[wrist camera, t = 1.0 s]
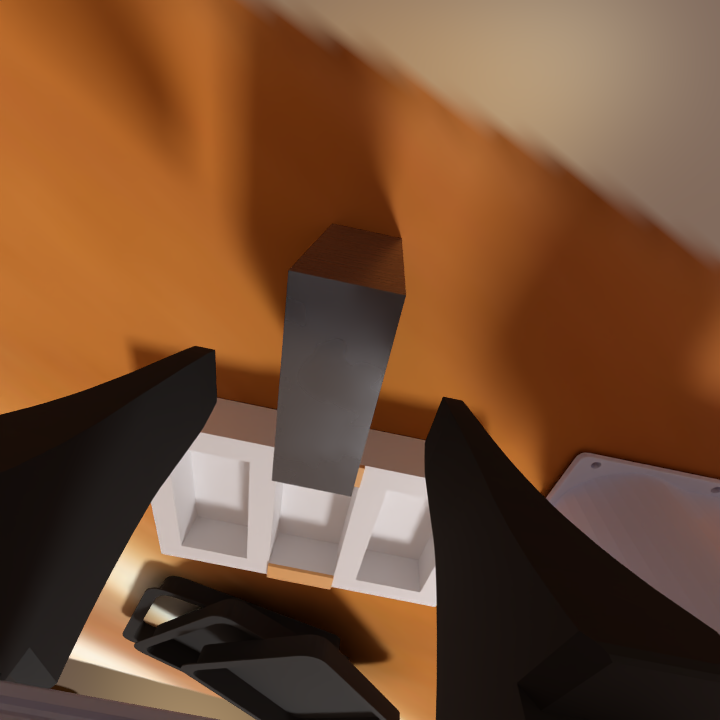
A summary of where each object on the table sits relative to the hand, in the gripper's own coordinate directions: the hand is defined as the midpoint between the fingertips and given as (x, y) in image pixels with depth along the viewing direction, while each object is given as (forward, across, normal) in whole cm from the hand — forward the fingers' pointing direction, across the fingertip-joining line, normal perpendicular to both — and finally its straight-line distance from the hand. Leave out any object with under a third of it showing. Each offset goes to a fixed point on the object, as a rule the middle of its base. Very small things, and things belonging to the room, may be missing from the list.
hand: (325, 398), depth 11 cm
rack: (+7, 0, +13) cm, 15 cm away
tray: (+7, +1, +36) cm, 37 cm away
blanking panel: (+7, 0, 0) cm, 7 cm away
